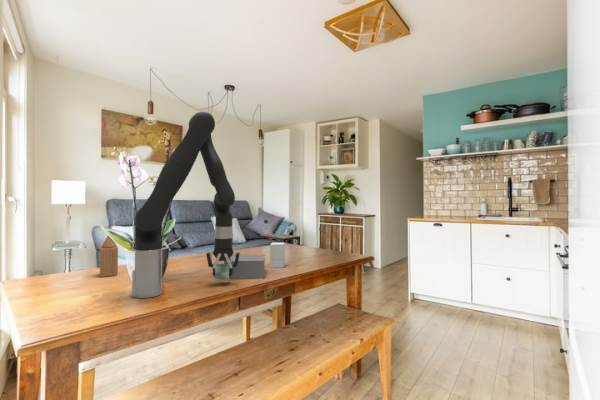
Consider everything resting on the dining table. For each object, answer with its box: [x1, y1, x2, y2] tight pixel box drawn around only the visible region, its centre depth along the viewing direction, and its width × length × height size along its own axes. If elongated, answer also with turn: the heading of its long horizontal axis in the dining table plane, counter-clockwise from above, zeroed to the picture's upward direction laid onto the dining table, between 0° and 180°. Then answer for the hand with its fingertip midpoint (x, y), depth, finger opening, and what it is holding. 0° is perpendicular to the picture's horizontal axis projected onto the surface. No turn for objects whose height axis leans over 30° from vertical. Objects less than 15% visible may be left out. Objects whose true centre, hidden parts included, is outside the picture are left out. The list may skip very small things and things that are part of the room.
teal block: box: [214, 263, 230, 281], centre depth 126 cm, size 6×6×6 cm
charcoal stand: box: [223, 253, 266, 280], centre depth 143 cm, size 18×16×8 cm
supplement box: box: [269, 242, 286, 269], centre depth 161 cm, size 7×7×13 cm
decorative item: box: [99, 235, 119, 278], centre depth 140 cm, size 7×7×20 cm
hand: (222, 276), depth 126 cm, fingers closed on teal block, 5 cm apart
